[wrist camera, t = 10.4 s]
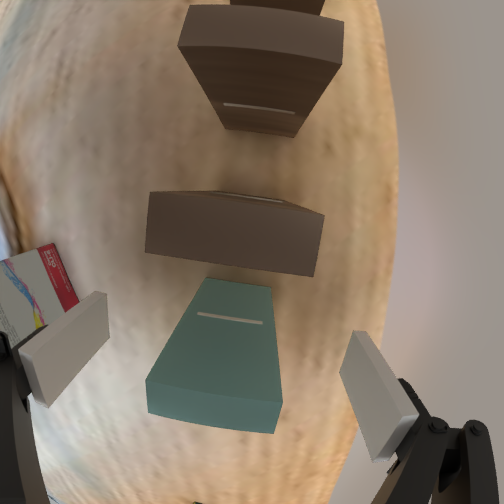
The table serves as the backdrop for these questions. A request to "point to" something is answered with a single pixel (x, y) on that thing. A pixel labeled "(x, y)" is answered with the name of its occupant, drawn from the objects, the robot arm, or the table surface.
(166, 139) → the table surface
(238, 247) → the domino
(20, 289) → the ink box
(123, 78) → the table surface
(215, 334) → the domino
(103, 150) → the table surface
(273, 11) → the domino
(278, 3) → the domino
